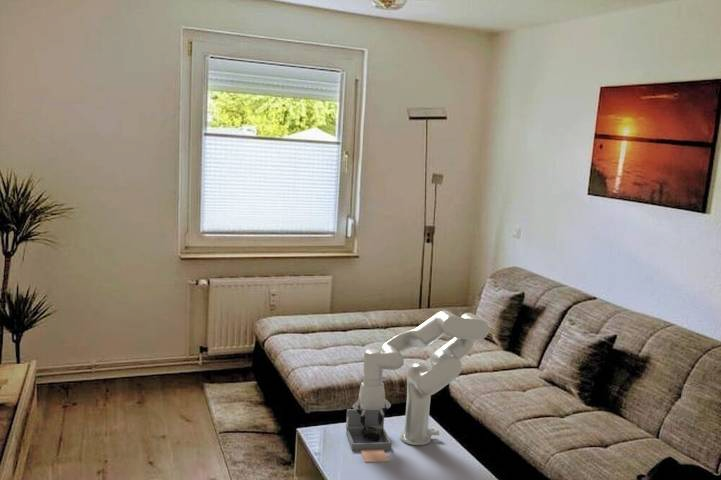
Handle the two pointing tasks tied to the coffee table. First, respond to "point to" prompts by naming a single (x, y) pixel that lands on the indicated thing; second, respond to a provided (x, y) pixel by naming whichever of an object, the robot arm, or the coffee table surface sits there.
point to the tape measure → (371, 433)
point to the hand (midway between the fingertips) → (371, 423)
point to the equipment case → (356, 427)
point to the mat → (374, 455)
